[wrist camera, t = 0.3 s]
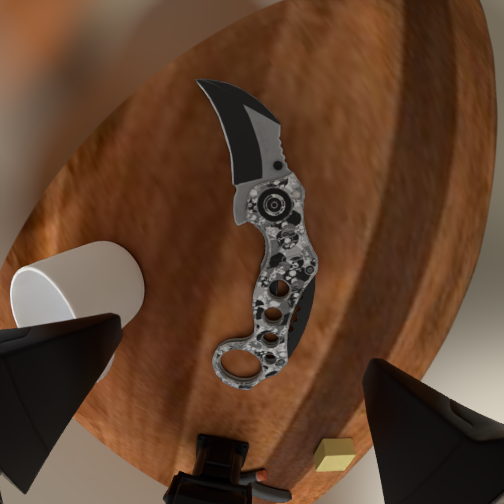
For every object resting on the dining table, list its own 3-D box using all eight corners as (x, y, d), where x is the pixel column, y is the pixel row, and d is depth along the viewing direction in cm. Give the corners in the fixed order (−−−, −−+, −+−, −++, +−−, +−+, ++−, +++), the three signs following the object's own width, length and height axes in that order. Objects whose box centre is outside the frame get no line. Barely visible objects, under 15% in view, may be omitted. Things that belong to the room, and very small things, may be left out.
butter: (341, 454, 27) (344, 470, 24) (313, 454, 27) (315, 471, 24) (352, 438, 26) (356, 454, 23) (323, 438, 26) (325, 455, 24)
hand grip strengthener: (293, 503, 28) (265, 466, 26) (222, 508, 30) (180, 471, 27) (292, 493, 30) (266, 453, 28) (224, 499, 32) (183, 460, 29)
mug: (158, 355, 25) (113, 422, 15) (95, 343, 26) (42, 393, 16) (143, 238, 23) (68, 270, 13) (76, 239, 23) (1, 263, 13)
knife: (192, 76, 18) (317, 70, 17) (198, 82, 20) (316, 78, 18) (203, 386, 24) (304, 394, 23) (207, 377, 26) (303, 384, 25)
